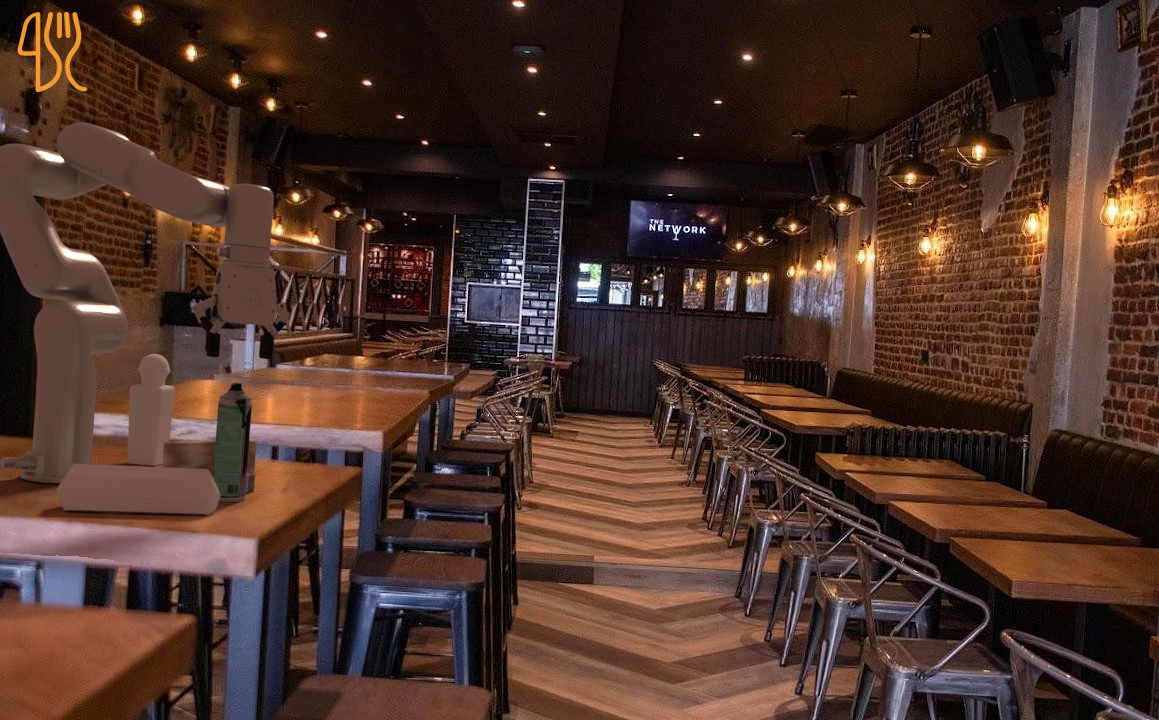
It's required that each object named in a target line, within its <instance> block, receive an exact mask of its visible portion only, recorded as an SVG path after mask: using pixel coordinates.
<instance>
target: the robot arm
mask: <svg viewBox="0 0 1159 720" xmlns="http://www.w3.org/2000/svg"><path fill="white" fill-rule="evenodd" d="M56 148H57V152H55V151H53V150H52V151H51V150H48V149H45V148H41V147H38V146H35V145H34V146H33V145H30V144H24V143H7V144H3V145H0V236H1V237H2V240H3V243H4V246H5V248H6V250H7V252H8V254H9V256H10V258H11V261H12V264H13V265H14V267H15V268H14V269H15V270H16V272H17V275H18V277H19V279H20V281H21V284H22V286H23V288H24V289H25V290H26V292H27V293H29V294H30V295H32V296H34V297H36V298H40V299H45V300H57V301H54V302H53V301H52V302H50V303H48V304H46V305H45V306H43V308H41V310H40V311H39V312H38V313H37V316H36V318H35V321H34V324H33V326H34V327H33V335H34V343H35V350H36V362H37V364H36V368H37V369H36V370H37V372H36V374H37V375H36V386H35V387H36V389H35V390H36V392H35V394H36V395H35V406H34V407H35V408H34V421H33V433H32V434H33V437H32V450H27V451H26V452H25V453H26V454H21V456H20V457H17V456H16V457H14V456H8V457H5V456H4V457H3V456H2V457H1V459H0V468H1V469H15V470H17V469H20V470H21V471H20V478H21V479H23V480H25V481H29V482H33V483H34V482H35V483H43V484H45V483H46V484H60V483H61V482H62V480H63V479H64V477H65V476H66V474H67V472H68V471H69V470H70V468H71V467H72V466H73V464H92V456H93V455H92V452H93V441H94V439H93V438H94V426H95V414H96V399H97V398H96V397H97V396H96V395H97V371H96V367H95V363H94V359H93V357H92V356H93V354H94V355H97V354H98V355H100V354H109V353H112V352H114V351H116V350H117V351H118V350H119V349H120V348H121V347H122V346H123V345H124V344H125V342H126V340H127V338H128V334H129V322H128V319H127V316H126V313H125V310H124V307H123V306H122V303H121V301H120V299H119V297H118V294H117V292H116V290H115V288H114V285H113V284H112V281H111V278H110V277H109V274H108V272H107V270H106V268H105V267H104V265H103V264H102V263H101V261H100V260H99V259H98V258H97V257H96V256H95V255H93V254H91V253H89V252H88V251H85V250H81V249H76V248H70V247H68V246H66V245H64V243H63V242H62V240H61V238H60V237H59V234H58V233H57V230H56V227H55V225H54V223H53V221H52V219H51V217H50V215H48V213H47V212H46V210H45V209H44V208H43V207H42V206H41V205H40V203H38V201H37V200H36V198H35V197H36V196H37V197H41V198H45V199H51V200H57V201H58V200H59V201H61V200H70V199H74V198H76V197H79V196H82V195H84V194H87V193H90V192H92V191H95V190H97V189H99V188H103V187H105V186H107V185H109V186H112V187H114V188H116V189H118V190H120V191H122V192H124V193H127V194H128V195H130V196H131V197H132V198H135V199H136V200H137V201H139V202H142V203H143V204H146V205H148V206H150V207H151V208H154V209H156V210H159V211H160V212H162V213H165V214H167V215H169V216H171V217H174V218H175V219H178V220H182V221H185V222H188V223H194V224H200V225H204V226H207V227H208V226H209V227H212V228H224V240H223V241H224V242H223V243H224V244H223V245H222V247H218V248H217V247H216V248H217V249H216V252H215V253H216V256H217V257H221V260H222V263H219V264H218V267H217V271H216V275H215V278H214V281H213V289H212V292H211V293H212V294H211V297H209V298H207V299H204V300H202V301H200V302H197V303H196V304H195V303H194V305H192V310H193V313H194V315H195V317H196V322H197V323H198V324H199V325H200V326H201V328H202V329H203V332H204V333H205V345H204V346H205V348H204V349H205V352H206V356H207V357H209V358H210V357H211V358H219V357H220V348H221V333H219V330H220V329H221V328H222V327H223V326H225V324H226V323H228V324H229V323H230V324H239V325H251V326H252V325H253V326H254V325H255V326H258V328H259V329H260V330H261V331H262V333H263V334H262V335H261V336H260V338H259V351H258V357H259V358H260V359H263V360H271V359H272V358H273V357H272V356H273V353H274V347H275V346H274V344H275V337H277V336H278V333H279V332H281V330H283V329H284V328H285V325H286V323H287V321H288V319H289V317H290V316H291V315H290V312H289V311H288V310H286V308H283V307H282V306H280V305H279V304H278V303H277V286H276V285H277V284H276V277H275V269H274V268H271V267H270V254H271V243H272V242H271V241H272V229H273V213H274V200H275V199H274V196H275V195H274V192H273V190H271V189H270V188H269V187H266V186H262V185H257V184H251V183H236V184H233V185H231V186H229V185H226V184H221V183H218V182H216V181H215V182H214V181H212V180H211V181H210V180H207V179H205V178H201V177H197V176H194V175H192V174H189V173H186V172H184V171H181V170H180V169H177V168H175V167H172V166H171V165H169V164H166V163H164V162H161V161H160V160H159V159H158V157H157V155H156V154H155V152H154V151H153V150H151V149H149V148H148V147H145V146H142V145H140V144H137V143H136V142H134V141H130V140H129V138H127V137H126V136H125V135H124V134H122V133H120V132H117V131H114V130H112V129H109V128H106V127H102V126H98V125H96V124H93V123H89V122H75V123H71V124H69V125H66V127H64V128H63V129H62V130H60V132H59V134H58V137H57V139H56ZM208 309H210V317H211V319H209V318H208V317H207V315H206V310H208ZM276 317H277V318H276Z"/></svg>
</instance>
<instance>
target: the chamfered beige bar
mask: <svg viewBox="0 0 1159 720" xmlns="http://www.w3.org/2000/svg"><path fill="white" fill-rule="evenodd" d="M56 494H57V495H56V496H57V500H58V502H59V504H60V506H61V507H62V509H63V511H64V512H84V513H85V512H88V513H89V512H90V513H117V514H118V513H119V514H121V513H123V514H124V513H125V514H126V513H127V514H153V515H155V514H157V515H185V516H187V515H189V516H190V515H192V516H209V515H211V514H212V513H214V511H215V510H216V509H217V508H218V504H219V502H220V501H219V499H220V493H219V489H218V487H217V485H216V483H215V480H214V478H213V476H212V475H211V473H210V472H209V470H208V469H191V468H166V467H162V466H161V467H160V466H143V465H137V466H136V465H113V464H111V465H110V464H93V463H91V464H73V466H72V467H71V468H70V470H69V471H68V472H67V474H66V476H65V477H64V479H63V480H62V482H61V483H59V484H58V486H57V488H56Z"/></svg>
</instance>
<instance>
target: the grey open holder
mask: <svg viewBox="0 0 1159 720" xmlns="http://www.w3.org/2000/svg"><path fill="white" fill-rule="evenodd" d="M215 443H216V440H203V441H202V440H200V441H196V440H195V441H191V440H190V441H169V442H164V451H163V464H161V465H162V466H161V467H166V468H191V469H208V470H209V472H210V473H211V475H212V476H213V470H214V456H215ZM256 452H257V441H256V440H254V439H249V451H248V465H247V478H246V492H245V493H254V491H255V482H256V481H255V480H256V475H255V466H256V454H257V453H256Z"/></svg>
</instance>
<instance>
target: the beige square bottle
mask: <svg viewBox="0 0 1159 720" xmlns="http://www.w3.org/2000/svg"><path fill="white" fill-rule="evenodd" d="M137 367H138V368H137V372H138V373H139V374H140V377H141V378H140V379H141V382H140V384H134V385H133V384H132V385H131V386H130V387H129V394H128V395H129V398H128V434H127V435H128V436H127V437H128V438H127V439H128V440H127V464H129V465H137V466H147V467H157V466H159V465H163V451H164V442H170V440H171V439H170V438H171V429H172V421H173V412H174V406H175V405H174V404H175V403H174V402H175V395H176V389H175V387H174V386H173V385H166V379H167V378H168V375H169V374H170V373H171V368H170V366H169V362H168V360H167V359H166V358H165V356H163V355H161V354H158V353H151V354H148V355H146V356H145V357H143V358H142V359H141V361H140V363H139V366H137Z"/></svg>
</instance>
